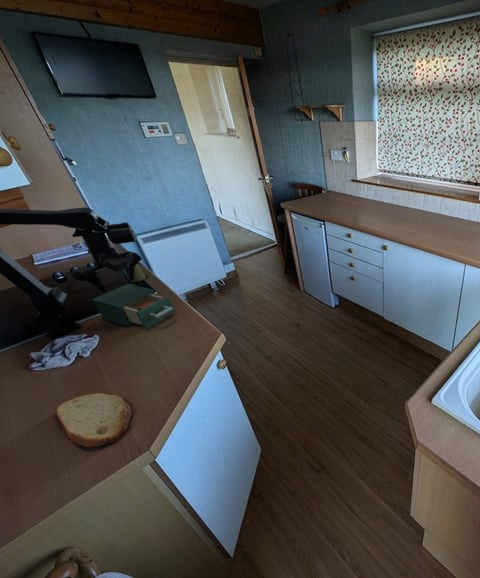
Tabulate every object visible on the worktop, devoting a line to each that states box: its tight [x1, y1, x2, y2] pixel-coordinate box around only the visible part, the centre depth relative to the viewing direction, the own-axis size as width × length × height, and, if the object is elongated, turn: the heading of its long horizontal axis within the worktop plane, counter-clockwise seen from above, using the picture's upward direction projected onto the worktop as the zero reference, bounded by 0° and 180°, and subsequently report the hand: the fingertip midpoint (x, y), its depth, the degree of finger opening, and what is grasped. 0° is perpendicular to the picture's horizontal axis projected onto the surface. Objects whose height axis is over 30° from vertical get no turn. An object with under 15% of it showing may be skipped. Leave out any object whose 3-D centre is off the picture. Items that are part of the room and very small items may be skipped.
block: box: [136, 301, 154, 311], centre depth 108 cm, size 4×4×4 cm
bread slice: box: [56, 392, 132, 448], centre depth 72 cm, size 18×18×4 cm
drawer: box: [122, 294, 176, 329], centre depth 108 cm, size 17×11×7 cm
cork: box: [128, 264, 147, 283], centre depth 134 cm, size 6×6×11 cm
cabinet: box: [91, 283, 156, 327], centre depth 111 cm, size 14×13×9 cm
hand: (119, 286), depth 107 cm, fingers open, 9 cm apart
